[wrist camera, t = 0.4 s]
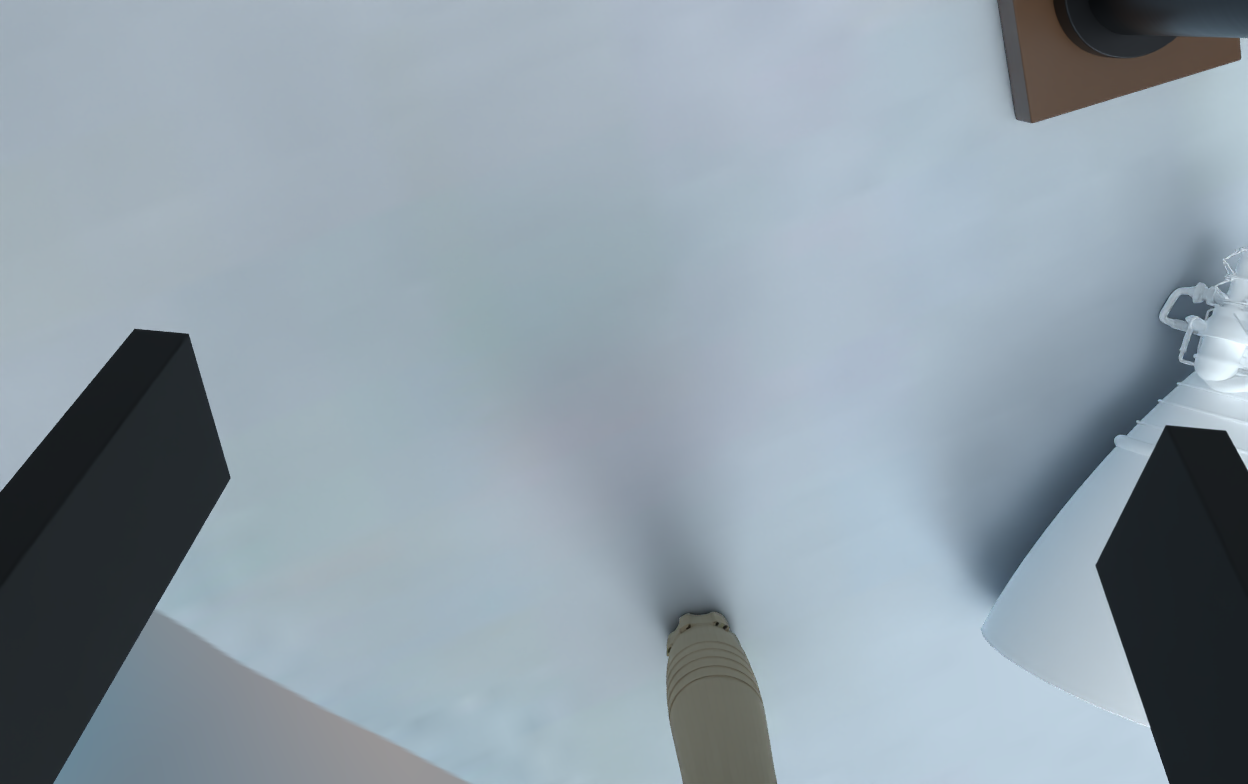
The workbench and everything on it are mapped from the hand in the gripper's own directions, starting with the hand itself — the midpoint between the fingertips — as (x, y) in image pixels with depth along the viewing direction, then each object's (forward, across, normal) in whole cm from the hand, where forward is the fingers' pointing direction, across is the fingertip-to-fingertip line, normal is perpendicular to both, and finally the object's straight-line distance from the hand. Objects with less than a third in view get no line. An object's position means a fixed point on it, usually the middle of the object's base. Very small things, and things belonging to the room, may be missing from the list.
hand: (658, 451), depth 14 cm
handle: (+19, +2, -29) cm, 35 cm away
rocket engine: (+25, +22, -21) cm, 39 cm away
